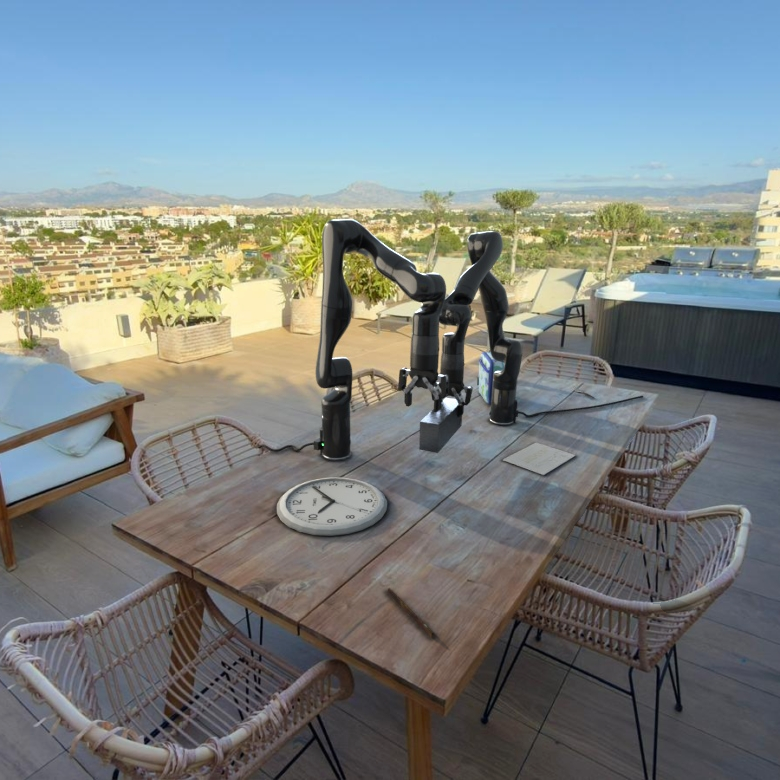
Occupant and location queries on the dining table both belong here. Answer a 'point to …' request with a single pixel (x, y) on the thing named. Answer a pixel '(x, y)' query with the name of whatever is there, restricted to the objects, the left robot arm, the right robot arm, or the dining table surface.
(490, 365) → the lunch box
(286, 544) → the dining table surface
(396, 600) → the dark brown stick
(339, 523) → the wall clock
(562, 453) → the invitation card
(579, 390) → the fork
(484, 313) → the right robot arm
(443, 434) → the bar
